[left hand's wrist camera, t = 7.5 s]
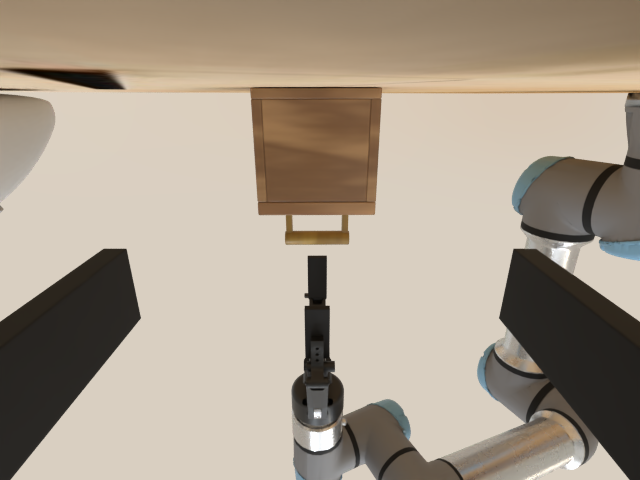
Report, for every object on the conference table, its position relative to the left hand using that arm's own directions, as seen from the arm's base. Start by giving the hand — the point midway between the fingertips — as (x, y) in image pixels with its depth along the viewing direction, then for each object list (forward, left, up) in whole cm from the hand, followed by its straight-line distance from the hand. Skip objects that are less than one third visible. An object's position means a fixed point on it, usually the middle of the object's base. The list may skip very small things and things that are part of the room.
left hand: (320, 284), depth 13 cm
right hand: (+26, -14, +15) cm, 34 cm away
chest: (+22, -12, -7) cm, 26 cm away
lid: (+23, -12, +2) cm, 26 cm away
